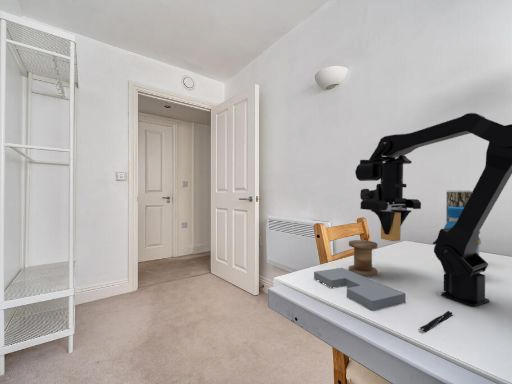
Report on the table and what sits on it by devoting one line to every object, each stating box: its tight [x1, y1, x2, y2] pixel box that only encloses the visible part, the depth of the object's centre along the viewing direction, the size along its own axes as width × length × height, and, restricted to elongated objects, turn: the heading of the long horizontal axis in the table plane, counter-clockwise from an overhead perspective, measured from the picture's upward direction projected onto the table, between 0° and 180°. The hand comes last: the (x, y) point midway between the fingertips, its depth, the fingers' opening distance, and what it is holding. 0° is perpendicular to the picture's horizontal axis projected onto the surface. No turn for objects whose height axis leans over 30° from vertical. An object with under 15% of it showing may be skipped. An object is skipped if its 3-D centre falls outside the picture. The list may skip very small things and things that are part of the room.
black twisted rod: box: [417, 310, 453, 334], centre depth 46 cm, size 12×1×1 cm, turn 122°
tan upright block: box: [380, 212, 402, 242], centre depth 71 cm, size 4×3×8 cm
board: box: [313, 267, 407, 312], centre depth 62 cm, size 20×10×2 cm, turn 23°
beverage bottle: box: [443, 207, 482, 274], centre depth 73 cm, size 8×8×20 cm
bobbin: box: [348, 239, 378, 278], centre depth 75 cm, size 8×8×9 cm
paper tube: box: [445, 190, 473, 223], centre depth 85 cm, size 7×7×25 cm
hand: (390, 234), depth 71 cm, fingers closed on tan upright block, 3 cm apart
